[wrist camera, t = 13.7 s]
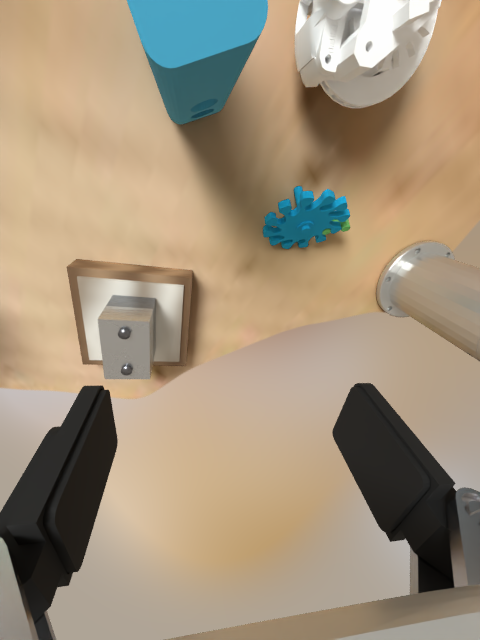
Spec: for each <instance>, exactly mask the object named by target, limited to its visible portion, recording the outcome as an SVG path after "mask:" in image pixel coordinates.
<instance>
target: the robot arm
mask: <svg viewBox="0 0 480 640" xmlns="http://www.w3.org/2000/svg"><path fill="white" fill-rule="evenodd" d="M376 295H377V301H378V304H379V306H380V307H381V308H382V309H383V310H384V311H385V312H386V313H388V314H390V315H392V316H395V317H409V316H411V317H412V318H414V319H415V320H417V321H418V322H420V323H421V324H423V325H425V326H426V327H428V328H429V329H431V330H432V331H434V332H435V333H437V334H438V335H440V336H441V337H443V338H445V339H446V340H448V341H449V342H451V343H452V344H454V345H455V346H457V347H458V348H460V349H461V350H463V351H465V352H466V353H468V354H469V355H471V356H472V357H474V358H476V359H477V360H479V361H480V268H477V267H474V266H471V265H468V264H465V263H462V262H459V261H456V260H455V258H454V255H453V253H452V251H451V250H450V248H449V247H447V246H446V245H444V244H442V243H438V242H434V241H422V242H419V243H415V244H413V245H411V246H409V247H407V248H405V249H404V250H402V251H401V252H400V253H398V254H397V255H396V256H395V257H394V258H393V259H392V260H391V261H390V262H389V263H388V265H387V266H386V268H385V269H384V271H383V272H382V274H381V276H380V278H379V281H378V285H377V291H376ZM333 437H334V440H335V442H336V444H337V445H338V448H339V450H340V451H341V453H342V455H343V457H344V459H345V461H346V463H347V465H348V467H349V469H350V471H351V473H352V475H353V476H354V479H355V481H356V483H357V485H358V486H359V488H360V490H361V492H362V494H363V496H364V498H365V500H366V502H367V504H368V506H369V508H370V510H371V512H372V514H373V516H374V518H375V520H376V522H377V524H378V525H379V527H380V528H381V530H382V531H384V532H386V534H387V536H388V538H389V540H390V542H391V541H398V540H404V539H405V538H406V540H407V541H408V543H409V545H410V595H406V596H401V597H395V598H389V599H384V600H378V601H372V602H367V603H361V604H355V605H350V606H344V607H339V608H333V609H328V610H322V611H317V612H311V613H305V614H300V615H295V616H289V617H284V618H278V619H273V620H267V621H262V622H257V623H251V624H245V625H241V626H235V627H230V628H224V629H219V630H213V631H208V632H203V633H197V634H192V635H187V636H182V637H176V638H171V639H165V640H480V492H478V491H476V490H474V489H471V488H460V489H458V490H457V491H456V490H455V489H454V488H453V486H454V484H455V482H454V481H453V480H452V479H451V478H450V476H449V475H448V474H447V473H446V472H445V470H444V469H443V468H442V467H441V466H440V464H439V463H438V462H437V461H436V460H435V458H434V457H433V456H432V455H431V454H430V453H429V451H428V450H427V449H426V448H425V446H424V445H423V444H422V443H421V442H420V440H419V439H418V438H417V437H416V436H415V434H414V433H413V432H412V431H411V430H410V428H409V427H408V426H407V425H406V424H405V422H404V421H403V420H402V419H401V418H400V416H399V415H398V414H397V413H396V412H395V410H394V409H393V408H392V407H391V406H390V404H389V403H388V402H387V401H386V400H385V398H384V397H383V396H382V395H381V394H380V392H379V391H378V390H377V389H376V388H375V386H373V384H371V383H357V384H355V385H354V387H352V388H351V389H350V392H349V394H348V397H347V399H346V401H345V403H344V405H343V408H342V410H341V412H340V415H339V417H338V419H337V422H336V424H335V426H334V428H333ZM116 448H117V434H116V428H115V422H114V416H113V410H112V404H111V398H110V392H109V390H104V387H103V386H84V387H83V388H82V389H81V391H80V393H79V394H78V396H77V398H76V400H75V402H74V403H73V405H72V407H71V409H70V411H69V413H68V414H67V416H66V418H65V420H64V422H63V424H62V425H61V427H53V428H52V429H50V430H49V432H48V433H47V434H46V436H45V438H44V439H43V441H42V443H41V444H40V446H39V448H38V449H37V451H36V453H35V455H34V456H33V458H32V460H31V461H30V463H29V465H28V466H27V468H26V470H25V472H24V473H23V475H22V477H21V478H20V480H19V482H18V483H17V485H16V487H15V489H14V490H13V492H12V494H11V495H10V497H9V499H8V500H7V502H6V504H5V506H4V507H3V509H2V511H1V512H0V640H56V637H55V634H54V631H53V629H52V625H51V622H50V619H49V616H48V613H47V609H48V608H49V607H50V606H51V604H52V601H53V598H54V595H55V592H56V589H57V587H61V586H68V585H69V583H70V580H71V577H72V573H73V572H78V571H79V569H80V567H81V565H82V562H83V559H84V556H85V552H86V549H87V546H88V542H89V539H90V536H91V532H92V529H93V526H94V522H95V519H96V516H97V512H98V509H99V506H100V502H101V499H102V496H103V492H104V489H105V486H106V482H107V479H108V475H109V472H110V469H111V466H112V462H113V459H114V456H115V452H116Z"/></svg>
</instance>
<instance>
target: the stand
mask: <svg viewBox="0 0 480 640" xmlns="http://www.w3.org/2000/svg"><path fill="white" fill-rule="evenodd" d="M67 271H68V277H69V283H70V289H71V295H72V301H73V307H74V314H75V320H76V326H77V332H78V338H79V344H80V350H81V356H82V362H83V364H94V365H103V360H102V352H101V344H100V335H99V327H98V318H99V316H100V314H101V313H102V311H103V310H104V308H105V306H106V305H107V303H108V302H109V300H110V299H111V297H112V295H121V296H135V297H149V298H156V351H155V356H154V361H153V365H158V366H186V357H187V344H188V330H189V317H190V304H191V290H192V270H182V269H172V268H162V267H152V266H141V265H131V264H121V263H111V262H101V261H90V260H80V259H76V260H75V261H74V262H72V263H71V264H70V265H68V266H67Z"/></svg>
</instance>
